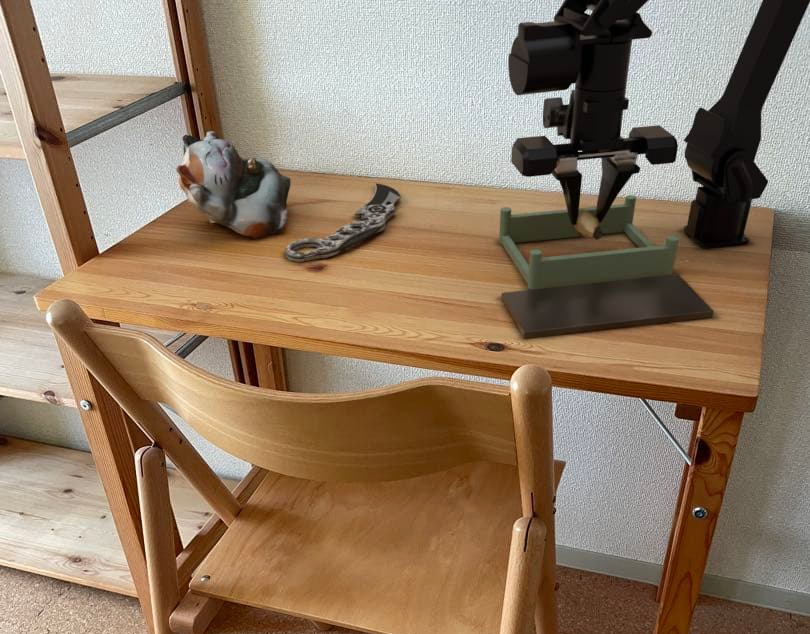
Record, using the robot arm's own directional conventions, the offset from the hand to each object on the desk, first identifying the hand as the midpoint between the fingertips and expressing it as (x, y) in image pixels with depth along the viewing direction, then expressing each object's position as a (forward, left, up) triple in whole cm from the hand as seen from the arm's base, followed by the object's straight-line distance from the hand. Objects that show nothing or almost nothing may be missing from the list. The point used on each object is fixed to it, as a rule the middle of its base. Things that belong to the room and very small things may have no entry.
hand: (585, 222), depth 106 cm
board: (+2, +14, -5) cm, 15 cm away
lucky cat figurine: (+43, -22, -5) cm, 49 cm away
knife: (+27, -18, -5) cm, 33 cm away
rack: (0, 0, -5) cm, 4 cm away
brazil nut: (0, 0, -1) cm, 1 cm away
